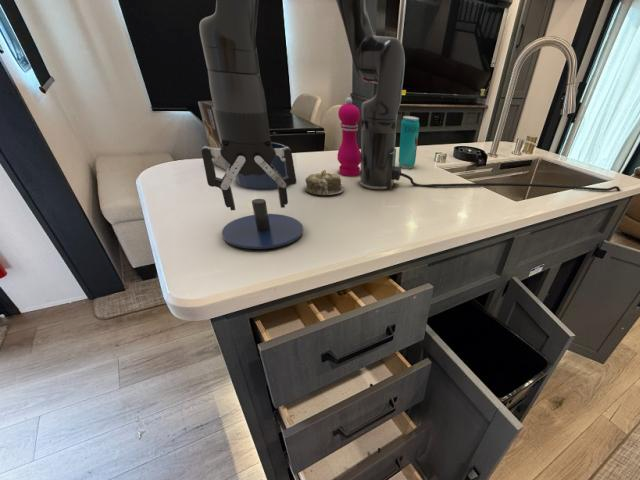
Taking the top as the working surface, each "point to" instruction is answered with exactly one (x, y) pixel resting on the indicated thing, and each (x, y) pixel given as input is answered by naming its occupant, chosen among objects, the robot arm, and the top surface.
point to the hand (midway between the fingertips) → (258, 207)
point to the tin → (264, 175)
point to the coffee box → (212, 130)
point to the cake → (324, 184)
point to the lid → (262, 229)
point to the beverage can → (408, 141)
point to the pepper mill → (349, 140)
